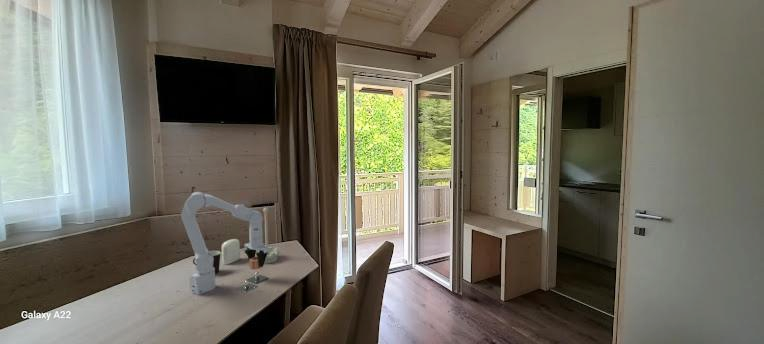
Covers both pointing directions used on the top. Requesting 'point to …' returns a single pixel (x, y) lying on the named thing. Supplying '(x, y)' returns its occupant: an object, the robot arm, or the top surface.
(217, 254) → the coffee mug
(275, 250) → the flag stand
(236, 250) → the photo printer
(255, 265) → the ring
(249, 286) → the stand
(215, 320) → the top surface
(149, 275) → the top surface
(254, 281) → the square peg base
